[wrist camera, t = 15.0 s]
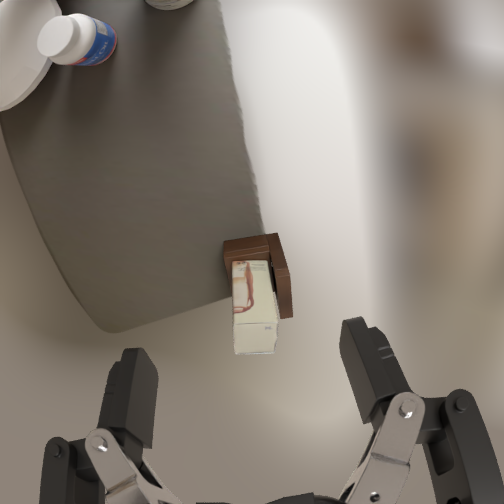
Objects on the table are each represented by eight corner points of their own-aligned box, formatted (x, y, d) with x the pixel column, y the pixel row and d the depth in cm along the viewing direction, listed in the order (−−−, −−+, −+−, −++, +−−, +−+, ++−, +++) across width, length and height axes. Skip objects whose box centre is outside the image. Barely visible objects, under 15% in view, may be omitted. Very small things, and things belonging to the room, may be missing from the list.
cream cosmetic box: (231, 259, 35) (232, 322, 26) (268, 259, 35) (280, 320, 26) (231, 293, 37) (233, 356, 29) (265, 292, 38) (276, 354, 29)
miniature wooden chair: (223, 240, 38) (223, 285, 30) (277, 232, 38) (290, 274, 30) (232, 279, 41) (234, 326, 34) (281, 271, 41) (293, 317, 34)
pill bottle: (90, 75, 24) (44, 77, 16) (70, 45, 22) (22, 41, 14) (126, 44, 23) (89, 33, 15) (105, 14, 21) (64, -3, 12)
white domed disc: (23, -36, 9) (44, -20, 15) (-61, 66, 11) (-33, 65, 17) (78, 33, 18) (96, 44, 24) (-17, 143, 19) (11, 133, 25)
